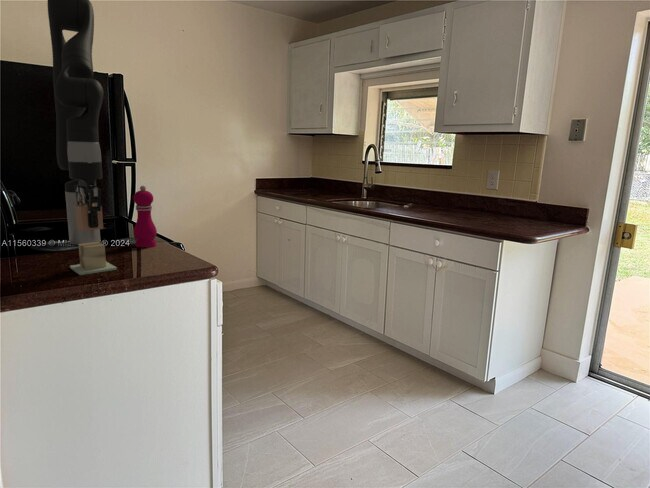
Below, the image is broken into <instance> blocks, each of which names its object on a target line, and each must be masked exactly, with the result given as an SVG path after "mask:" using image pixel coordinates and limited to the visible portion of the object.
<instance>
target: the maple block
mask: <svg viewBox="0 0 650 488" xmlns="http://www.w3.org/2000/svg"><path fill="white" fill-rule="evenodd" d="M77 246H78V254H79V255H78V256H79V264H80V266H81V267H82V268H84V269H85V270H90V269H97V268H103V267H106V262H107V259H106V257H107V256H106V246H105V244H103V243H101V241H100V242H94V243H85V244H78V245H77Z"/></svg>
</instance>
